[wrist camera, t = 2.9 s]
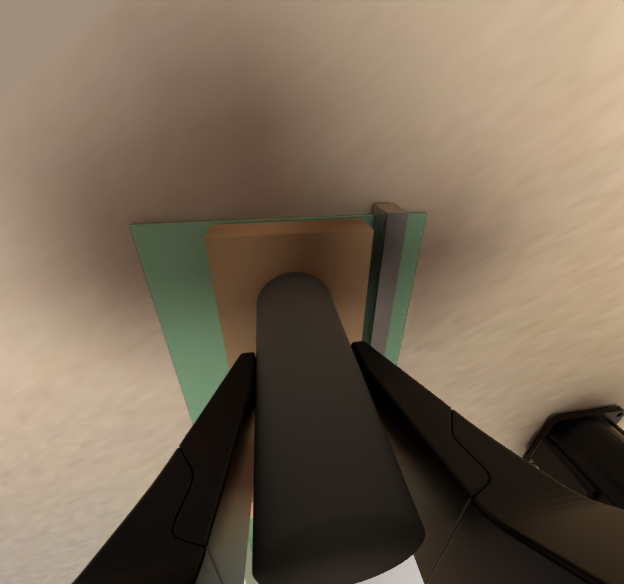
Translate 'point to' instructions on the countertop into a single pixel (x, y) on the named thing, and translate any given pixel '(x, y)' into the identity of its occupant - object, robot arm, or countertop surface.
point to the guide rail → (383, 272)
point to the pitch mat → (202, 304)
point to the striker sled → (311, 402)
